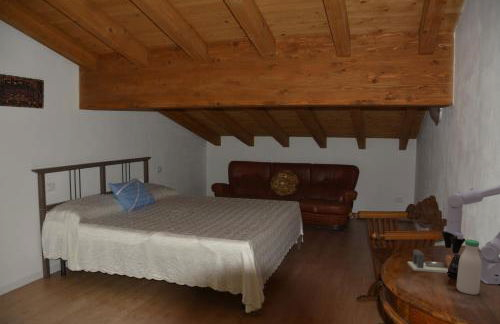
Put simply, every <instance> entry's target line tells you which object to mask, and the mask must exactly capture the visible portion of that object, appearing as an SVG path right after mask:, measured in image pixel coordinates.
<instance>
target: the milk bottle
mask: <svg viewBox="0 0 500 324" xmlns="http://www.w3.org/2000/svg"><path fill="white" fill-rule="evenodd" d="M464 246H465V248H464V250H463V251H462V253H461V255H460V257H459V261H458V266H457V267H458V268H457V274H456V276H457V277H456V289H457V290H458V291H459V292H460V293H463V294H467V295H471V296H473V295H474V296H475V295H478V294H480V287H481V280H480V278H481V255H480V253H479V247H480V242H479V241H478V240H476V239H468V238H467V239H465V242H464Z"/></svg>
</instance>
